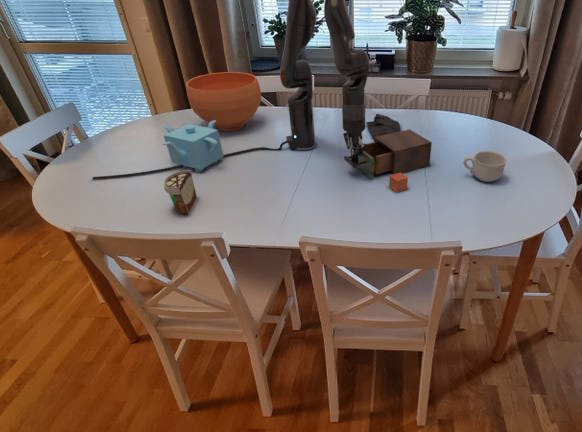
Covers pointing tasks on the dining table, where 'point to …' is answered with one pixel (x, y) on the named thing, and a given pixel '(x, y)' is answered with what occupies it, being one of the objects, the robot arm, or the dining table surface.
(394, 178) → the block
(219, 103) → the bowl
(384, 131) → the dark slate chunk
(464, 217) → the dining table surface
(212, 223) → the dining table surface
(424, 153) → the cabinet
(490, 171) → the teacup
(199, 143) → the teakettle
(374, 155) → the drawer
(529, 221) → the dining table surface
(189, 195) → the brown and cream wedge
